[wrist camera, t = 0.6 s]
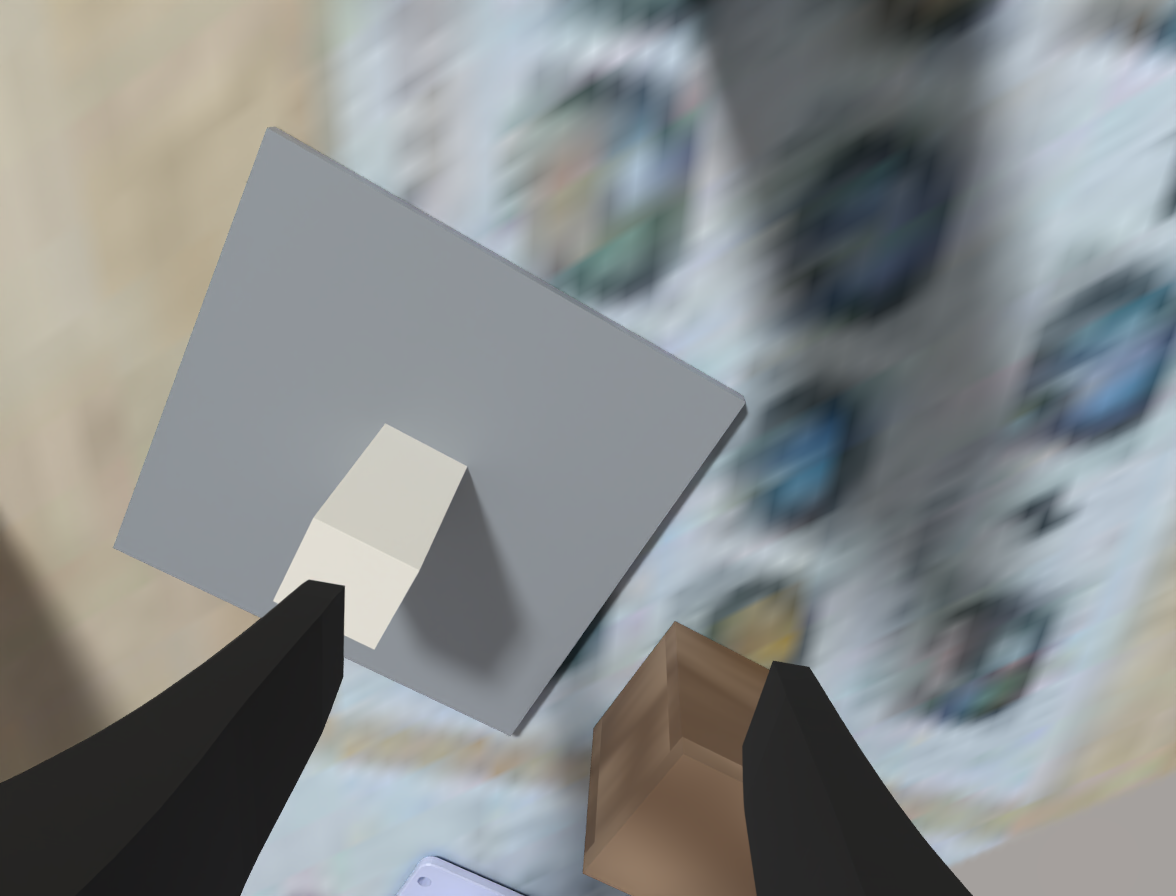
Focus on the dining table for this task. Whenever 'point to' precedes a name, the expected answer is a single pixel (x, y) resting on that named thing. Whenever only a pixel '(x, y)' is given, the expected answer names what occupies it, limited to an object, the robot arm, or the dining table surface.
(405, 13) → the dining table surface
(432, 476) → the flat grey base plate
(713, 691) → the brown shipping carton
